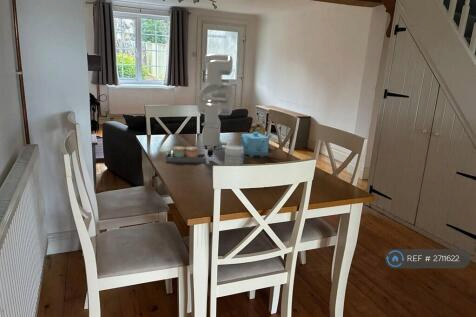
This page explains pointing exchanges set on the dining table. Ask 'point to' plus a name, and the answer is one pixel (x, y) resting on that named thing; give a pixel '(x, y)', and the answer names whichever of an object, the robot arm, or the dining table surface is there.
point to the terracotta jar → (191, 152)
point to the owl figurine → (257, 128)
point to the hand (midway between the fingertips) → (210, 156)
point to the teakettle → (255, 144)
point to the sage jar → (179, 152)
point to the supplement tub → (234, 155)
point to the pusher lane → (177, 159)
